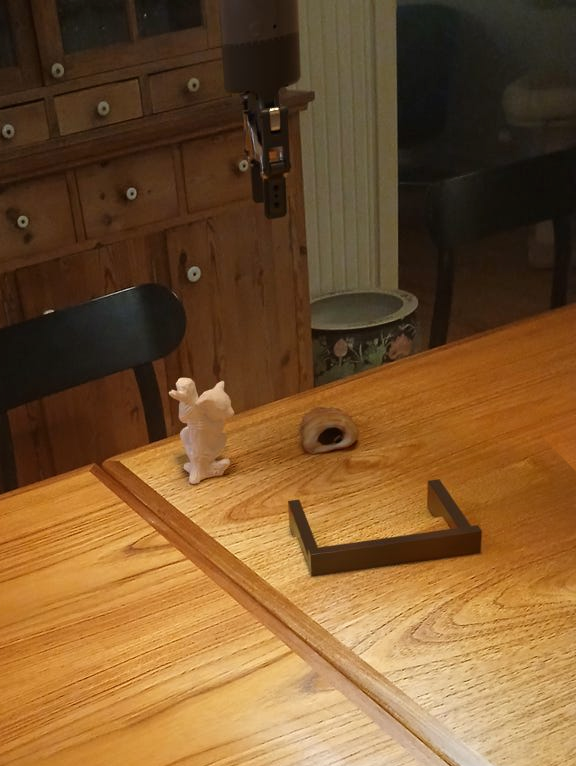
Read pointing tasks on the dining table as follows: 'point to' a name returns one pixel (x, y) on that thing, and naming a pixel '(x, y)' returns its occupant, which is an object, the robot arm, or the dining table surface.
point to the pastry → (327, 430)
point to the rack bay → (391, 540)
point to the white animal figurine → (203, 428)
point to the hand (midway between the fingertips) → (269, 209)
